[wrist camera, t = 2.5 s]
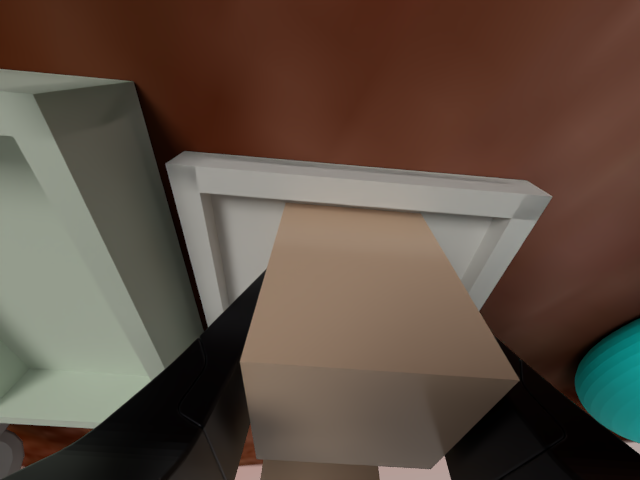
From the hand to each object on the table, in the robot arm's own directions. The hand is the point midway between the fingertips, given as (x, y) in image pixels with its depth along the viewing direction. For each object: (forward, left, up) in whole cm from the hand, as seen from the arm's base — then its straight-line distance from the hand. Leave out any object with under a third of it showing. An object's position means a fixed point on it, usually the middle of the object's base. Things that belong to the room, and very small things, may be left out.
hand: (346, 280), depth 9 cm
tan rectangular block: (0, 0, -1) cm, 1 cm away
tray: (0, +5, -2) cm, 5 cm away
